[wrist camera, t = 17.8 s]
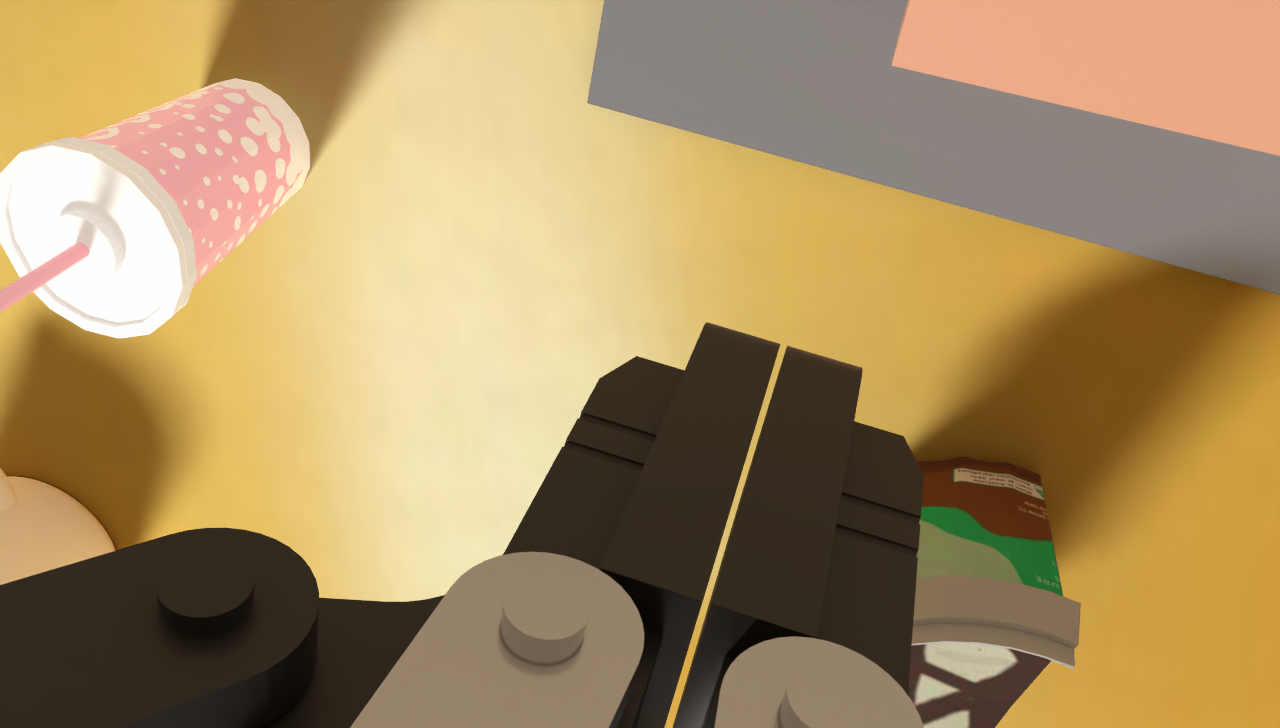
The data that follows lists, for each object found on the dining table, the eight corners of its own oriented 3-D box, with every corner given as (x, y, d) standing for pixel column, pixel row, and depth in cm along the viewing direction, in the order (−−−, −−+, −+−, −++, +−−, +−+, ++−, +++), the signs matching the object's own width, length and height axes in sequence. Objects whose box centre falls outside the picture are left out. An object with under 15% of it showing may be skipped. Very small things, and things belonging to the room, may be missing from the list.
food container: (897, 368, 38) (873, 556, 30) (1063, 444, 38) (1086, 655, 30) (754, 601, 45) (703, 807, 37) (895, 666, 45) (875, 888, 37)
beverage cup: (309, 55, 38) (14, 220, 26) (346, 224, 41) (97, 438, 30) (153, 56, 40) (-190, 213, 28) (200, 219, 43) (-92, 420, 31)
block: (891, 65, 28) (1390, 181, 27) (945, -125, 26) (1497, -10, 24) (901, 20, 32) (1340, 120, 31) (949, -150, 30) (1429, -51, 28)
